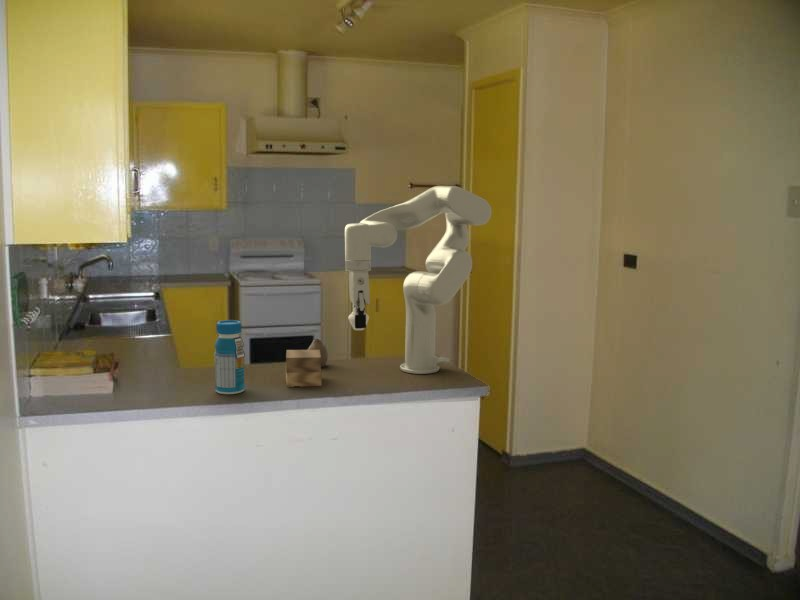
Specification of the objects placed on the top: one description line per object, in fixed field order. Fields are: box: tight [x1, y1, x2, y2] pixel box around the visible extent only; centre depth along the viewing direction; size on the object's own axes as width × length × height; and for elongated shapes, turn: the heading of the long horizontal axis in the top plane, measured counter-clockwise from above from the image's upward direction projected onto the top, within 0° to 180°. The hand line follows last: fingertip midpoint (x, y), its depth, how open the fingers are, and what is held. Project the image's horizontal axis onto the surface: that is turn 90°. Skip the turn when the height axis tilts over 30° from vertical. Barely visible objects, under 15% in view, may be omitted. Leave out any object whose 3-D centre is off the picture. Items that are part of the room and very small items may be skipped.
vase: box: [307, 338, 329, 368], centre depth 245 cm, size 7×7×9 cm
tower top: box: [285, 349, 322, 374], centre depth 226 cm, size 10×10×4 cm
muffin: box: [347, 308, 370, 331], centre depth 225 cm, size 6×6×7 cm
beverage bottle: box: [213, 319, 246, 395], centre depth 214 cm, size 8×8×20 cm
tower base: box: [285, 371, 323, 388], centre depth 227 cm, size 10×10×4 cm
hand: (358, 325), depth 225 cm, fingers closed on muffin, 6 cm apart
